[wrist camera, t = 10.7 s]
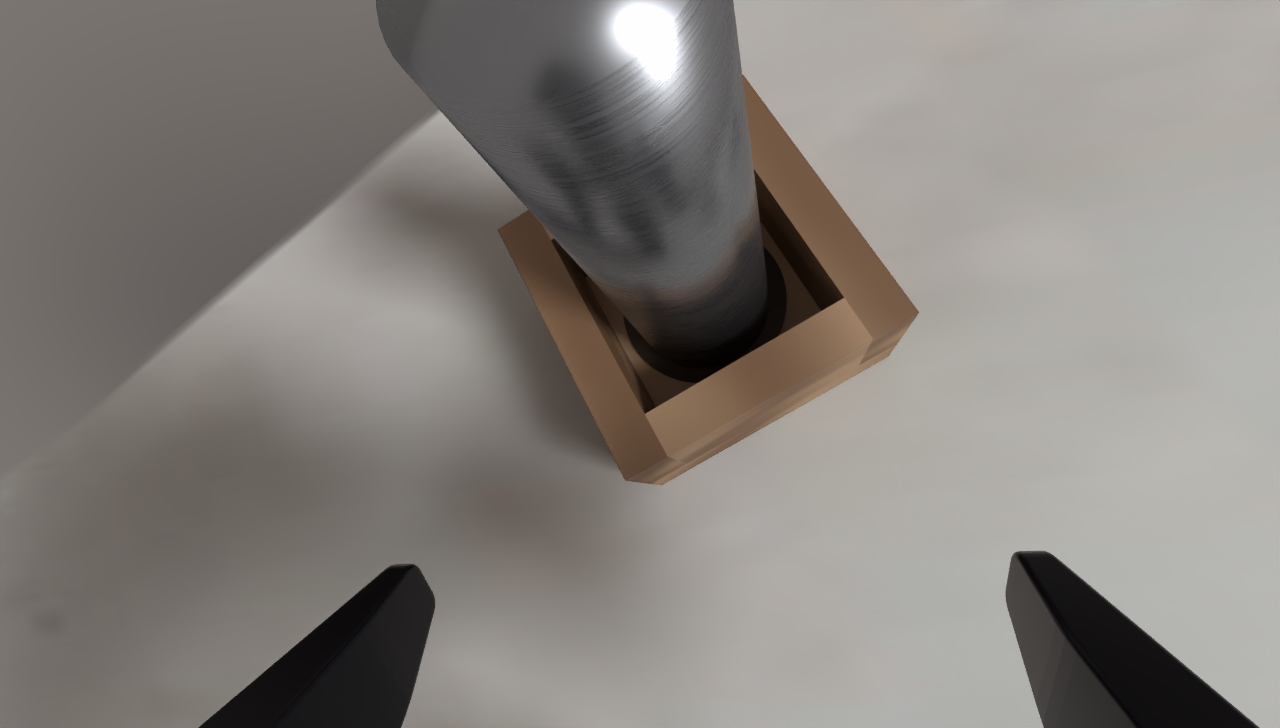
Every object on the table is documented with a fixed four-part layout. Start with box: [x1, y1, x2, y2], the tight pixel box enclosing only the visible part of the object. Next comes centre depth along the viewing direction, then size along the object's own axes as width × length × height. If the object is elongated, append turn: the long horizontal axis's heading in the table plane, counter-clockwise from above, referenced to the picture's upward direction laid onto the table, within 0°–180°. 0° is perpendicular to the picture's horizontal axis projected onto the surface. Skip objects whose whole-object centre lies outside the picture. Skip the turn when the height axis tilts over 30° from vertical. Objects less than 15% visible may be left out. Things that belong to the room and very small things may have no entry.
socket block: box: [498, 75, 919, 485], centre depth 18 cm, size 8×8×4 cm
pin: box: [376, 0, 769, 369], centre depth 13 cm, size 4×4×12 cm
